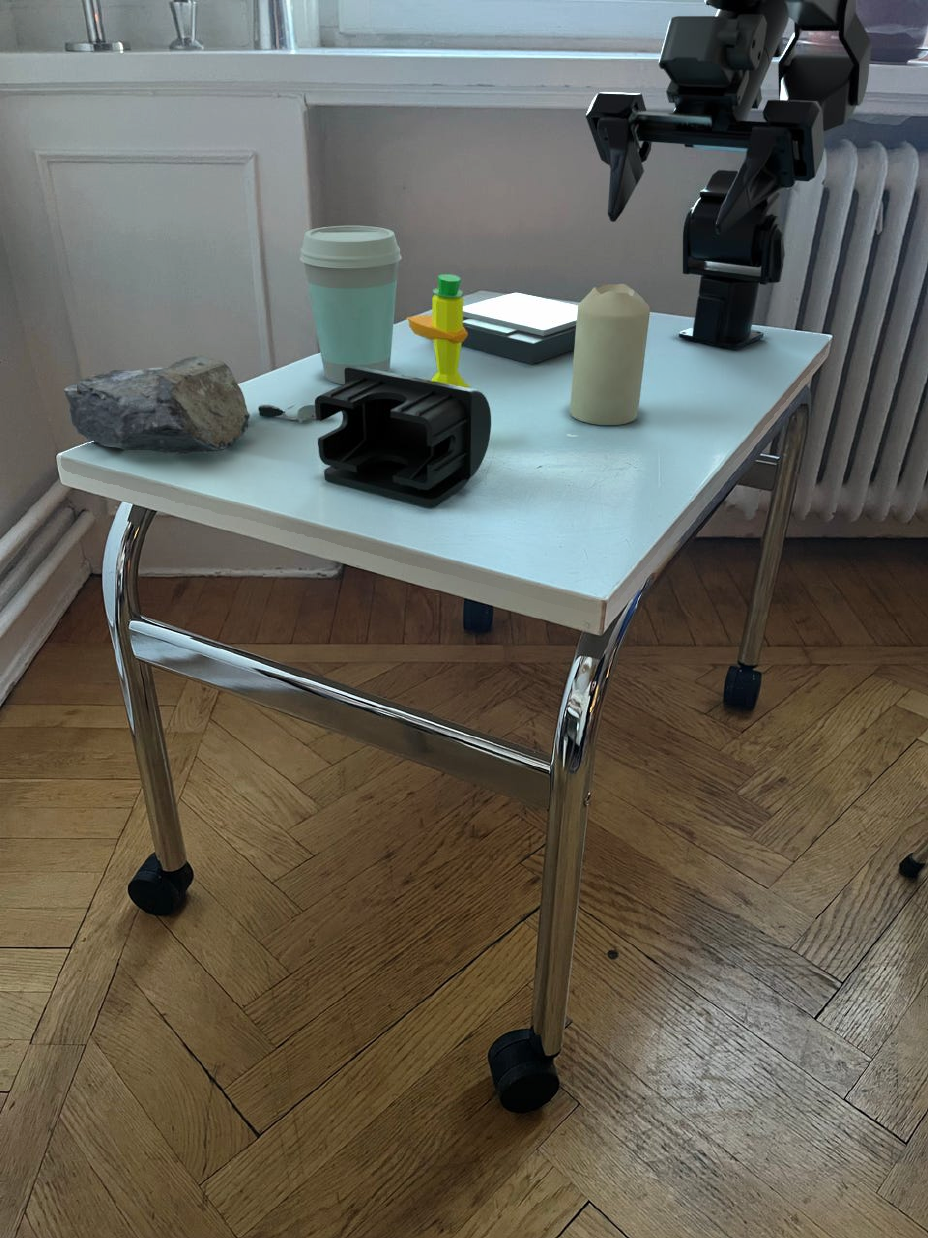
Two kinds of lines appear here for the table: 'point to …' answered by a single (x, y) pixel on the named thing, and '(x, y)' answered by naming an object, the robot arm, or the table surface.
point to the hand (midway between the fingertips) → (662, 224)
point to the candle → (609, 355)
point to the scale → (521, 327)
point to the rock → (161, 407)
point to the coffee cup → (352, 295)
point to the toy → (275, 411)
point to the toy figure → (444, 329)
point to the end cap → (403, 435)
